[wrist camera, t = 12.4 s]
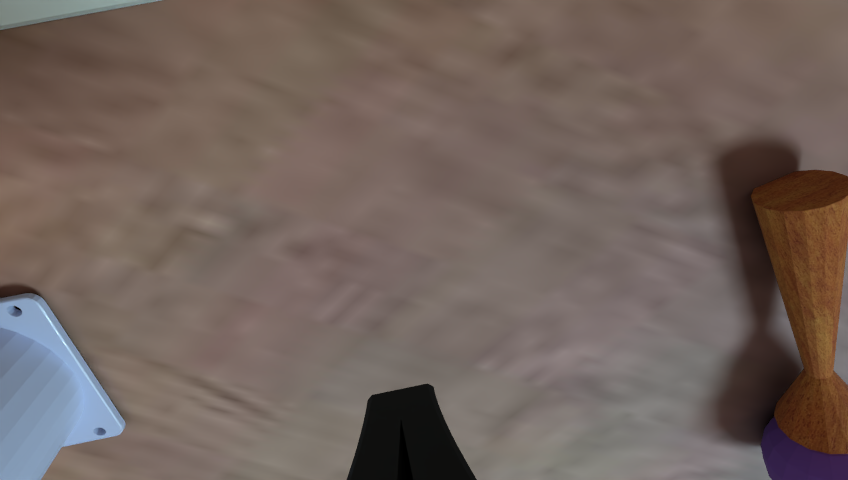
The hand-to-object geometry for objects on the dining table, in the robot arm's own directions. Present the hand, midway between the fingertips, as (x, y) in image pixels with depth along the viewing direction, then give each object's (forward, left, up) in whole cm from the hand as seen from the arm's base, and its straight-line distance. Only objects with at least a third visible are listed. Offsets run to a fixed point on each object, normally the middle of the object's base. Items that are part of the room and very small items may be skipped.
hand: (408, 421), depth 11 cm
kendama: (+19, -11, -11) cm, 25 cm away
